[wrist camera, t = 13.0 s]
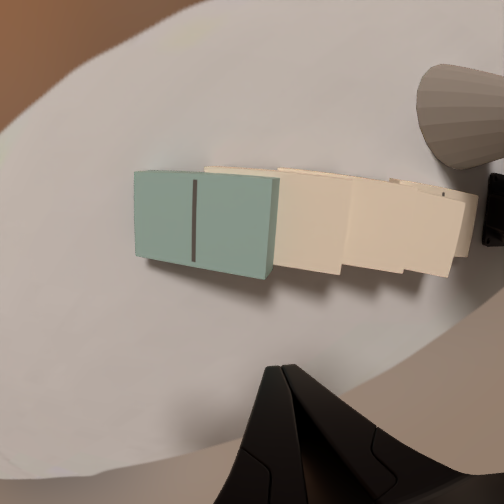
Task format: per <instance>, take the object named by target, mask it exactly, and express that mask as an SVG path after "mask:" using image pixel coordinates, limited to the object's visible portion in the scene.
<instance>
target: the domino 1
mask: <svg viewBox="0 0 504 504" xmlns="http://www.w3.org/2000/svg"><path fill="white" fill-rule="evenodd" d="M279 185H280V178H276V177H265V176H253V175H240V174H225V173H208V172H188V171H158V170H148V171H137V172H134V227H135V253H136V256H139V257H144V258H149V259H154V260H159V261H164V262H170V263H175V264H180V265H186V266H191V267H196V268H202V269H207V270H213V271H218V272H224V273H229V274H235V275H240V276H246V277H252V278H257V279H263V280H265V279H266V278H267V276H268V275H269V274H270V272H271V271H272V270H273V259H274V248H275V236H276V224H277V211H278V198H279Z"/></svg>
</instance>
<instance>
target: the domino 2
mask: <svg viewBox="0 0 504 504" xmlns="http://www.w3.org/2000/svg"><path fill="white" fill-rule="evenodd" d="M204 172H208V173H225V174H240V175H253V176H265V177H276V178H280V185H279V198H278V211H277V224H276V236H275V248H274V259H273V265H279V266H285V267H291V268H298V269H304V270H310V271H316V272H323V273H329V274H335V275H340V271H341V265H342V258H343V252H344V245H345V238H346V231H347V223H348V215H349V207H350V198H351V189H352V179H347V178H340V177H332V176H324V175H315V174H306V173H297V172H287V171H276V170H264V169H252V168H238V167H221V166H210V167H204Z"/></svg>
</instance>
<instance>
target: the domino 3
mask: <svg viewBox="0 0 504 504" xmlns="http://www.w3.org/2000/svg"><path fill="white" fill-rule="evenodd" d="M278 171H287V172H297V173H306V174H315V175H324V176H332V177H340V178H347V179H352V189H351V198H350V207H349V215H348V223H347V231H346V238H345V245H344V252H343V258H342V264H345V265H351V266H357V267H364V268H370V269H376V270H382V271H388V272H394V273H400V274H403V270H404V265H405V261H406V256H407V251H408V246H409V240H410V235H411V229H412V224H413V218H414V211H415V204H416V197H417V190H418V188H417V187H414V186H409V185H404V184H398V183H392V182H387V181H381V180H374V179H368V178H362V177H355V176H348V175H341V174H333V173H326V172H318V171H309V170H301V169H291V168H278Z"/></svg>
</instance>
